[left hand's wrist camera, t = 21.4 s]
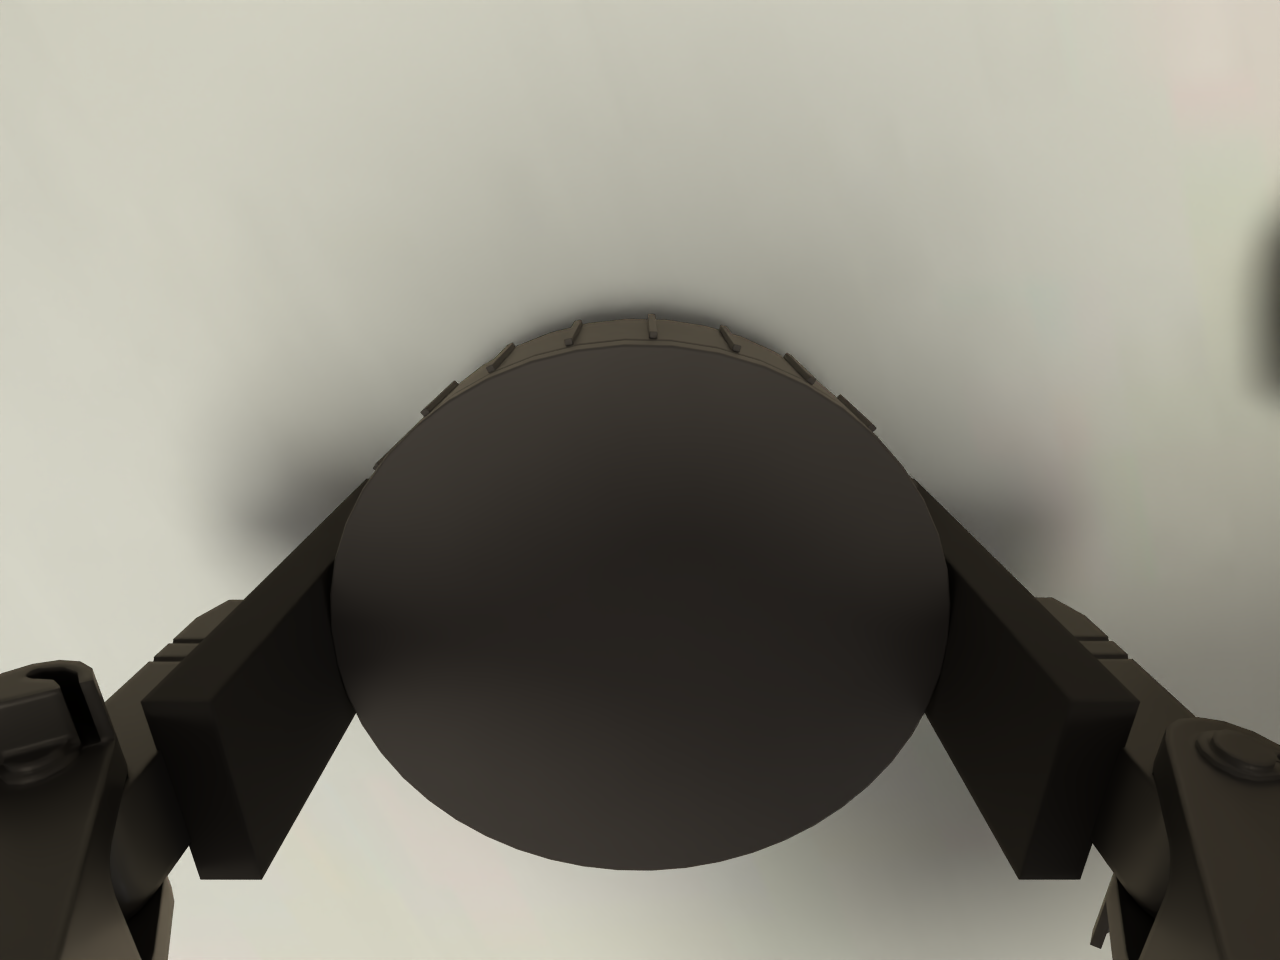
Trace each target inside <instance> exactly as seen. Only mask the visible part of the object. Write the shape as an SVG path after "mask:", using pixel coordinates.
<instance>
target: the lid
mask: <svg viewBox="0 0 1280 960" xmlns="http://www.w3.org/2000/svg"><path fill="white" fill-rule="evenodd" d="M421 414H422V415H423V416H424V417H423V419H422V420H420V421H419V422H418V423H417V424H416V425H415V426H414V427H413V428H412V429H411V430H410V431H409V432H408V433H407V434H406V435H405V436H404V437H403V438H402V439H401V440H400V441H399V442H398V443H397V444H396V445H395V446H394V447H393V448H391V449H390V450H389V451H388V452H387V453H386V454H385V455H384V456H383V457H382V458H381V459H380V460H379V461H378V462H377V463H376V464H375V466H374V467H373V469H374V470H376V471H375V472H374V473H373V475H372V476H371V478H370V479H369V481H368V482H367V483H366V485H365V486H364V488H363V489H362V491H361V493H360V495H359V497H358V499H357V502H356V504H355V506H354V508H353V510H352V512H351V514H350V516H349V518H348V520H347V522H346V524H345V528H344V531H343V534H342V537H341V541H340V544H339V547H338V550H337V554H336V557H335V563H334V570H333V577H332V584H331V591H330V614H331V634H332V639H333V645H334V650H335V656H336V661H337V665H338V669H339V672H340V675H341V678H342V681H343V684H344V687H345V690H346V693H347V696H348V698H349V700H350V702H351V704H352V706H353V708H354V710H355V712H356V714H357V716H358V718H359V720H360V722H361V724H362V725H363V727H364V728H365V730H366V731H367V733H368V734H369V736H370V737H371V739H372V740H373V742H374V743H375V745H376V746H377V748H378V749H379V750H380V752H381V753H382V754H383V756H384V757H385V758H386V759H387V760H388V761H389V762H390V763H391V765H392V766H393V767H394V768H395V769H396V770H397V771H398V772H399V774H400V775H401V776H402V777H403V778H404V779H405V780H406V781H407V782H409V783H410V784H411V785H412V786H413V787H414V788H415V789H416V790H418V791H419V792H420V793H421V794H422V795H423V796H424V797H425V798H427V799H428V800H429V801H430V802H432V803H433V804H435V805H436V806H437V807H439V808H440V809H442V810H443V811H445V812H446V813H447V814H449V815H450V816H452V817H453V818H455V819H456V820H458V821H460V822H461V823H463V824H465V825H467V826H469V827H470V828H472V829H474V830H476V831H478V832H480V833H481V834H483V835H485V836H487V837H489V838H492V839H494V840H497V841H499V842H501V843H504V844H506V845H508V846H511V847H513V848H515V849H518V850H521V851H524V852H528V853H531V854H534V855H537V856H541V857H544V858H547V859H551V860H555V861H560V862H565V863H570V864H575V865H580V866H586V867H595V868H604V869H613V870H664V869H677V868H688V867H693V866H699V865H705V864H710V863H716V862H721V861H725V860H728V859H732V858H735V857H739V856H743V855H746V854H750V853H753V852H756V851H758V850H761V849H764V848H766V847H769V846H771V845H774V844H777V843H779V842H782V841H784V840H786V839H788V838H790V837H792V836H794V835H796V834H798V833H800V832H802V831H804V830H806V829H808V828H810V827H812V826H814V825H816V824H817V823H819V822H820V821H822V820H823V819H825V818H826V817H828V816H829V815H831V814H833V813H834V812H836V811H837V810H839V809H840V808H842V807H843V806H844V805H846V804H847V803H848V802H849V801H851V800H852V799H853V798H854V797H855V796H857V795H858V794H859V793H860V792H862V791H863V790H864V789H865V788H866V787H868V786H869V785H870V784H871V783H872V782H873V781H874V780H875V779H876V778H877V776H878V775H879V774H880V773H881V772H882V771H883V770H884V769H885V768H886V767H887V766H888V765H889V764H890V763H891V762H892V761H893V759H894V758H895V757H896V755H897V754H898V753H899V751H900V750H901V749H902V747H903V746H904V745H905V743H906V742H907V741H908V739H909V738H910V737H911V735H912V734H913V732H914V730H915V728H916V727H917V725H918V723H919V721H920V719H921V718H922V716H923V714H924V712H925V711H926V709H927V707H928V705H929V703H930V700H931V697H932V695H933V692H934V690H935V687H936V685H937V682H938V679H939V677H940V674H941V670H942V666H943V661H944V657H945V652H946V648H947V643H948V636H949V622H950V608H951V603H950V592H949V580H948V569H947V565H946V561H945V557H944V553H943V549H942V545H941V541H940V537H939V534H938V531H937V529H936V527H935V524H934V522H933V520H932V517H931V515H930V513H929V510H928V508H927V506H926V503H925V501H924V499H923V497H922V496H921V494H920V493H919V491H918V489H917V488H918V486H917V484H916V482H915V481H914V480H913V479H912V478H911V477H910V476H909V475H908V474H907V472H906V470H905V469H904V467H903V466H902V465H901V464H900V462H899V461H898V460H897V459H896V458H895V457H894V456H893V454H892V453H891V452H890V451H889V450H888V449H887V447H886V446H885V445H884V444H883V443H882V442H881V441H880V439H879V438H878V437H877V436H876V435H875V434H874V433H873V431H874V430H875V429H876V427H875V426H874V425H873V424H872V423H871V422H870V421H869V420H868V419H867V418H866V417H865V416H863V415H862V414H861V413H860V412H859V411H858V410H857V409H856V408H855V407H854V406H853V405H852V404H850V403H849V402H848V401H847V400H846V399H845V398H844V397H843V396H842V395H839V396H838V397H837V398H836V397H835V396H834V395H833V394H832V393H831V392H830V391H829V390H827V389H826V388H825V387H824V386H823V385H822V384H820V383H819V382H818V381H817V380H816V379H815V378H814V377H813V376H812V375H811V374H810V373H809V372H808V371H807V370H806V369H805V368H804V367H803V366H802V365H801V364H800V363H799V362H798V361H797V360H796V359H795V358H794V357H793V356H791V355H790V354H788V353H786V354H785V356H784V357H783V356H781V355H779V354H778V353H776V352H774V351H772V350H770V349H768V348H765V347H763V346H761V345H759V344H757V343H754V342H752V341H750V340H748V339H746V338H743V337H741V336H738V335H734V334H732V333H731V332H730V330H729V329H728V328H727V327H726V326H723V325H721V326H720V329H719V330H717V329H714V328H711V327H707V326H703V325H697V324H691V323H684V322H678V321H671V320H658V319H656V318H655V314H648V319H621V320H612V321H603V322H594V323H587V324H582V320H577V321H575V322H574V324H573V325H572V327H571V328H567V329H563V330H559V331H555V332H551V333H548V334H546V335H543V336H541V337H538V338H536V339H533V340H531V341H528V342H526V343H523V344H521V345H518V346H516V347H515V346H514V344H513V343H511V344H509V345H507V346H506V347H505V348H504V349H503V350H502V351H501V352H500V353H499V354H498V355H497V357H496V358H495V359H493V360H491V361H490V362H488V363H486V364H484V365H483V366H481V367H480V368H479V369H478V370H476V371H475V372H474V373H472V374H471V375H470V376H469V377H467V378H466V379H465V380H463V381H462V382H461V383H460V384H458V383H457V382H456V381H453V382H452V383H451V384H450V385H449V386H448V387H447V388H446V389H445V390H444V391H443V392H441V393H440V394H439V395H438V396H437V397H436V398H435V399H434V400H433V401H432V402H431V403H430V404H429V405H427V406H426V407H425V408H424V409H423V410H422V411H421Z"/></svg>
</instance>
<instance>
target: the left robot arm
mask: <svg viewBox="0 0 1280 960" xmlns="http://www.w3.org/2000/svg"><path fill="white" fill-rule="evenodd" d="M913 480H914V481H915V482H916V484H917V486H918V488H917V489H918V491H919V493H920V494H921V496H922V497H923V499H924V501H925V503H926V506H927V508H928V510H929V513H930V515H931V517H932V520H933V522H934V524H935V527H936V529H937V531H938V534H939V537H940V541H941V545H942V549H943V553H944V557H945V561H946V565H947V569H948V580H949V592H950V603H951V608H950V622H949V636H948V643H947V648H946V652H945V657H944V661H943V666H942V670H941V674H940V677H939V679H938V682H937V685H936V687H935V690H934V692H933V695H932V697H931V700H930V703H929V705H928V707H927V709H926V711H925V714H926V716H927V718H928V720H929V721H930V723H931V725H932V727H933V728H934V730H935V732H936V734H937V736H938V737H939V739H940V741H941V743H942V744H943V746H944V748H945V750H946V751H947V753H948V755H949V757H950V759H951V760H952V762H953V764H954V766H955V767H956V769H957V771H958V773H959V774H960V776H961V778H962V780H963V782H964V783H965V785H966V787H967V789H968V790H969V792H970V794H971V796H972V797H973V799H974V801H975V803H976V805H977V806H978V808H979V810H980V812H981V813H982V815H983V817H984V819H985V820H986V822H987V824H988V826H989V828H990V829H991V831H992V833H993V835H994V836H995V838H996V840H997V842H998V843H999V845H1000V847H1001V849H1002V851H1003V852H1004V854H1005V856H1006V858H1007V859H1008V861H1009V863H1010V865H1011V866H1012V868H1013V870H1014V872H1015V874H1016V875H1017V877H1018V879H1019V880H1080V878H1081V875H1082V872H1083V869H1084V867H1085V864H1086V861H1087V858H1088V855H1089V852H1090V849H1091V846H1092V843H1093V844H1094V846H1095V847H1096V849H1097V850H1098V851H1099V853H1100V854H1101V856H1102V857H1103V858H1104V860H1105V861H1106V863H1107V864H1108V865H1109V867H1110V868H1111V870H1112V871H1113V872H1114V873H1113V876H1112V879H1111V881H1110V884H1109V887H1108V890H1107V893H1106V895H1105V898H1104V901H1103V904H1102V906H1101V909H1100V912H1099V915H1098V917H1097V920H1096V923H1095V926H1094V928H1093V932H1092V937H1091V942H1090V945H1092V946H1095V947H1097V948H1100V949H1101V947H1102V945H1103V942H1104V939H1105V937H1106V934H1107V933H1108V932H1110V941H1111V950H1112V958H1113V960H1280V745H1278V744H1276V743H1274V742H1272V741H1271V740H1269V739H1267V738H1265V737H1263V736H1261V735H1259V734H1257V733H1255V732H1253V731H1250V730H1247V729H1245V728H1242V727H1239V726H1236V725H1233V724H1230V723H1227V722H1224V721H1218V720H1212V719H1206V718H1200V717H1195V716H1194V715H1193V714H1192V713H1191V712H1190V711H1189V710H1188V709H1187V708H1185V707H1184V706H1183V705H1182V704H1181V703H1180V702H1179V701H1178V700H1177V699H1176V698H1175V697H1173V696H1172V695H1171V694H1170V693H1169V692H1168V691H1167V690H1166V689H1165V688H1164V687H1162V686H1161V685H1160V684H1159V683H1158V682H1157V681H1156V680H1155V679H1154V678H1153V677H1152V676H1150V675H1149V674H1148V673H1147V672H1146V671H1145V670H1144V669H1143V668H1142V667H1141V666H1140V665H1138V664H1137V663H1136V662H1135V661H1134V660H1133V659H1128V655H1127V654H1126V653H1125V652H1124V651H1123V650H1122V649H1121V648H1120V647H1119V646H1118V645H1117V644H1115V643H1114V642H1113V641H1109V640H1108V636H1107V635H1106V634H1105V633H1103V632H1102V631H1101V630H1100V629H1099V628H1098V627H1097V626H1096V625H1095V624H1094V623H1092V622H1091V621H1090V620H1089V619H1088V618H1087V617H1086V616H1085V615H1083V614H1081V613H1079V612H1077V611H1076V610H1074V609H1072V608H1070V607H1068V606H1067V605H1065V604H1063V603H1061V602H1059V601H1057V600H1056V599H1054V598H1035V597H1034V596H1033V595H1032V594H1031V593H1030V592H1029V591H1028V590H1027V589H1026V588H1025V587H1024V586H1023V585H1022V584H1021V583H1020V582H1019V581H1017V580H1016V579H1015V578H1014V577H1013V576H1012V575H1011V574H1010V573H1009V572H1008V571H1007V570H1006V569H1005V568H1004V567H1003V566H1002V565H1001V564H1000V563H999V562H998V561H997V560H996V559H995V558H994V557H993V556H992V555H991V554H990V553H989V552H988V551H987V550H986V549H985V548H984V547H983V546H982V545H981V544H980V543H979V542H978V541H977V540H976V539H975V538H974V537H973V536H972V535H971V534H970V533H969V532H968V531H967V530H966V529H965V528H964V527H963V526H962V525H961V524H960V523H959V522H958V521H957V520H956V519H955V518H954V517H952V516H951V515H950V514H949V513H948V512H947V511H946V510H945V509H944V508H943V507H942V506H941V505H940V504H939V503H938V502H937V501H936V500H935V499H934V498H933V497H932V496H931V495H930V494H929V493H928V492H927V491H926V490H925V489H924V488H923V487H922V486H921V485H920V484H919V483H918V482H917V481H916V480H915V479H913ZM368 481H369V479H366V480H365V481H364V482H363V483H362V484H361V485H360V486H359V487H358V488H357V489H356V490H355V491H354V492H353V493H352V494H351V495H350V496H349V497H348V498H347V499H346V500H345V501H344V502H343V503H342V504H341V505H340V506H338V507H337V508H336V509H335V510H334V511H333V512H332V513H331V514H330V515H329V516H328V517H327V518H326V519H325V520H324V521H323V522H322V523H321V524H320V525H319V526H318V527H317V528H316V529H315V530H314V531H313V532H312V533H311V534H310V535H309V536H308V537H307V538H306V539H305V540H304V541H303V542H302V543H301V544H300V545H299V546H298V547H297V548H296V549H295V550H294V551H293V552H292V553H291V554H290V555H289V556H288V557H287V558H286V559H285V560H284V561H283V562H282V563H281V564H280V565H279V566H278V567H277V568H275V569H274V570H273V571H272V572H271V573H270V574H269V575H268V576H267V577H266V578H265V579H264V580H263V581H262V582H261V583H260V584H259V585H258V586H257V587H256V588H255V589H254V590H253V591H252V592H251V593H250V594H249V595H248V596H247V597H246V598H245V599H244V600H228V601H226V602H224V603H223V604H221V605H219V606H217V607H215V608H214V609H212V610H210V611H208V612H206V613H204V614H203V615H201V616H199V617H197V618H196V619H195V620H194V621H193V622H192V623H190V624H189V625H188V626H187V627H186V628H185V629H184V630H183V631H182V632H181V633H180V634H178V635H177V636H176V637H175V638H174V639H173V644H168V645H167V646H165V647H164V648H163V649H162V650H161V651H160V652H159V653H158V654H157V655H156V656H155V657H154V661H153V662H148V663H147V664H146V665H145V666H144V667H143V668H142V669H140V670H139V671H138V672H137V673H136V674H135V675H134V676H133V677H132V678H131V679H130V680H128V681H127V682H126V683H125V684H124V685H123V686H122V687H121V688H120V689H119V690H118V691H117V692H115V693H114V694H113V695H112V696H111V697H110V698H109V699H108V700H107V701H106V702H104V700H103V697H102V694H101V691H100V689H99V686H98V683H97V680H96V678H95V675H94V672H93V669H92V668H91V667H89V666H87V665H86V664H84V663H82V662H80V661H66V660H56V661H50V662H43V663H36V664H31V665H28V666H24V667H21V668H18V669H14V670H11V671H8V672H5V673H2V674H0V960H168V952H169V943H170V935H171V926H172V917H173V908H174V898H173V892H172V887H171V884H170V881H169V879H168V874H169V873H170V871H171V870H172V869H173V867H174V866H175V864H176V863H177V862H178V860H179V859H180V857H181V856H182V855H183V853H184V852H185V850H186V849H187V847H188V846H189V847H190V850H191V853H192V856H193V859H194V862H195V865H196V868H197V871H198V874H199V876H200V879H201V880H262V878H263V876H264V875H265V873H266V871H267V869H268V868H269V866H270V864H271V862H272V861H273V859H274V857H275V855H276V853H277V852H278V850H279V848H280V846H281V845H282V843H283V841H284V839H285V838H286V836H287V834H288V832H289V830H290V829H291V827H292V825H293V823H294V822H295V820H296V818H297V816H298V815H299V813H300V811H301V809H302V807H303V806H304V804H305V802H306V800H307V799H308V797H309V795H310V793H311V792H312V790H313V788H314V786H315V784H316V783H317V781H318V779H319V777H320V776H321V774H322V772H323V770H324V769H325V767H326V765H327V763H328V762H329V760H330V758H331V756H332V754H333V753H334V751H335V749H336V747H337V746H338V744H339V742H340V740H341V739H342V737H343V735H344V733H345V731H346V730H347V728H348V726H349V724H350V723H351V721H352V719H353V717H354V716H355V714H356V712H355V710H354V708H353V706H352V704H351V702H350V700H349V698H348V696H347V693H346V690H345V687H344V684H343V681H342V678H341V675H340V672H339V669H338V665H337V661H336V656H335V650H334V645H333V639H332V634H331V614H330V591H331V584H332V577H333V570H334V563H335V557H336V554H337V550H338V547H339V544H340V541H341V537H342V534H343V531H344V528H345V524H346V522H347V520H348V518H349V516H350V514H351V512H352V510H353V508H354V506H355V504H356V502H357V499H358V497H359V495H360V493H361V491H362V489H363V488H364V486H365V485H366V483H367V482H368Z"/></svg>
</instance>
